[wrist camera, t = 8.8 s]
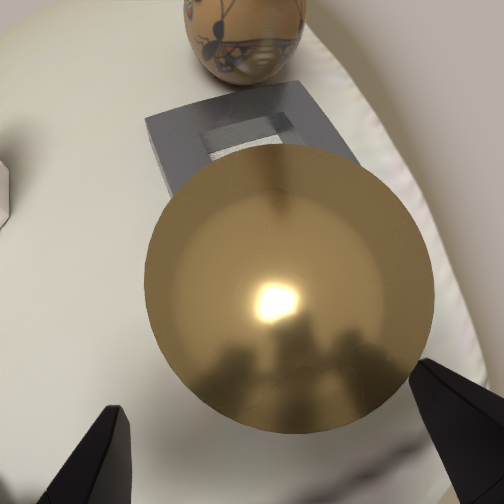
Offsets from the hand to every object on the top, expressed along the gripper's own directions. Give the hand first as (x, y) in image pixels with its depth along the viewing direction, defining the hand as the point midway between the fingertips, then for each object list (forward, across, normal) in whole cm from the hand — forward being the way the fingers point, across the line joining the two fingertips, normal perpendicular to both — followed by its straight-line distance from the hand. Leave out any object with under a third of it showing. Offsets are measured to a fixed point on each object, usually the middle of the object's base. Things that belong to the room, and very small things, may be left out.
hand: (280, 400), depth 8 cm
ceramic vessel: (+24, -2, -11) cm, 27 cm away
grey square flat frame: (+16, -2, -3) cm, 16 cm away
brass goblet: (+9, 0, +5) cm, 10 cm away
